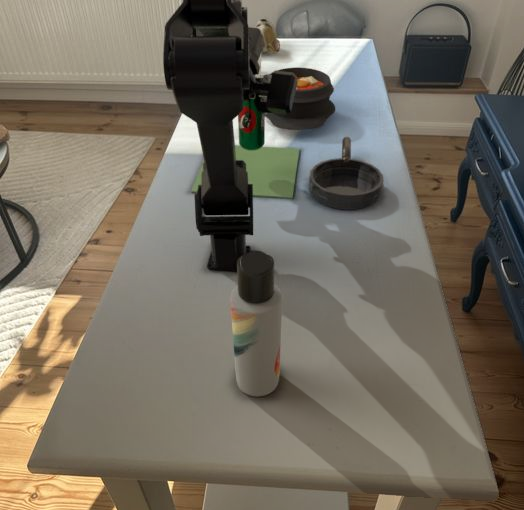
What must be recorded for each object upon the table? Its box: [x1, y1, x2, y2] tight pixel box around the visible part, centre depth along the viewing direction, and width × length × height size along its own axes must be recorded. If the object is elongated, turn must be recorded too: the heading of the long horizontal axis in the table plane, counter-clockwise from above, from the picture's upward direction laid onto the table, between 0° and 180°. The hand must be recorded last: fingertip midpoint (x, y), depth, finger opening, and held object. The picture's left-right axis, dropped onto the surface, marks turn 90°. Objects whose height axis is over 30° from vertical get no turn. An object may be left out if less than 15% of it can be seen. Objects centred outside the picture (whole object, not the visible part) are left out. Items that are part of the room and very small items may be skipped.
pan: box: [308, 157, 384, 210], centre depth 94 cm, size 14×14×3 cm
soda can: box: [237, 76, 266, 150], centre depth 91 cm, size 5×5×12 cm
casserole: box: [265, 67, 336, 131], centre depth 115 cm, size 25×19×8 cm
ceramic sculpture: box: [254, 16, 281, 54], centre depth 146 cm, size 11×9×15 cm
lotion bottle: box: [230, 250, 283, 397], centre depth 56 cm, size 6×6×20 cm
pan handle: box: [341, 136, 352, 166], centre depth 101 cm, size 11×2×2 cm, turn 173°
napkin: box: [190, 144, 301, 199], centre depth 101 cm, size 20×20×1 cm
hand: (253, 109), depth 92 cm, fingers closed on soda can, 5 cm apart
